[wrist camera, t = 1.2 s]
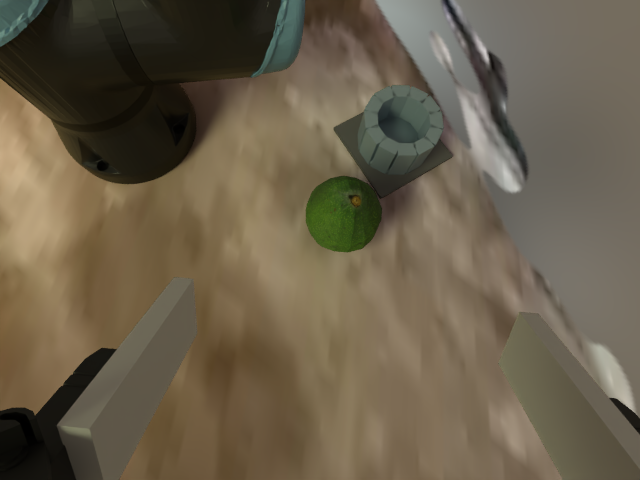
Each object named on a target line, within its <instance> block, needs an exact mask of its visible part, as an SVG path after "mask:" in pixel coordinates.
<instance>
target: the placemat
mask: <svg viewBox="0 0 640 480" xmlns="http://www.w3.org/2000/svg"><path fill="white" fill-rule="evenodd" d="M363 113H364V112H363ZM363 113H361V114H359V115H357V116H355V117H353V118H351V119H349V120H347V121H346V122H344V123H342V124H340V125H338V126H336V127H334V131H335V132H336V134H337V135H338V137H339V138H340V140H341V141H342V143H343V144H344V146H345V147H346V148H347V150H348V151H349V153H350V154H351V156H352V157H353V159H354V160H355V162H356V163H357V165H358V166H359V167H360V169H361V170H362V172H363V173H364V175H365V176H366V178H367V179H368V181H369V182H370V184H371V185H372V186H373V188H374V189H375V191H376V192H377V194H378V195H379V197H380V198H383V197H385V196H386V195H388V194H390V193H391V192H393V191H395V190H397V189H398V188H400V187H402V186H404V185H405V184H407V183H409V182H410V181H412V180H414V179H416V178H417V177H419V176H421V175H422V174H424V173H426V172H428V171H429V170H431V169H433V168H435V167H436V166H438V165H440V164H441V163H443V162H445V161H447V160H448V159H450V158H452V155H451V154H450V152H449V151H448V150H447V148H446V147H445V146H444V144H443V143H442V142H441V140H440V139H439V140H438V142H437V144H436V145H435V147H434V148H433V149H432V151H431V152H430V154H429V155H428V156H427V158H426V159H425V160H424V162H423V163H422V165H420V166H419V167H418V168H416V169H414V170H412V171H411V172H409V173H407V174H406V173H405V174H404V175H388V174H387V173H385V174H384V173H382V172H380V171H378V170H376V169H374V168H372V167H370V165H368V164H367V162H366V161H365V159H364V158H363V156H362V155H361V153H360V152H359V151H360V150H359V149H358V131H359V127H360V124H361V120H362V117H363Z"/></svg>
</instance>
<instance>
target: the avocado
mask: <svg viewBox="0 0 640 480" xmlns="http://www.w3.org/2000/svg"><path fill="white" fill-rule="evenodd" d="M381 214H382V208H381V205H380V203H379V200H378V198H377V196H376V193H375V191H374V190H373V189H372V188H371V187H370V186H369V185H368V184H367V183H365V182H363V181H361V180H359V179H357V178H353V177H347V176H339V177H335V178H330V179H328V180H327V181H325V182H323V183H322V184H320V185H318V186H317V187H316V188H315V189H314V191H313V192H312V194H311V196H310V198H309V201H308V203H307V207H306V224H307V226H308V229H309V231H310V234H311V235H312V236H313V238H314V239H315V240H316V242H317V243H318V244H319V245H320V246H322V247H325V248H327V249H330V250H332V251H338V252H351V251H355V250H359V249H362V248H363V247H364V246H365V245H367V244H368V243H369V242H370V241H371V240H372V238H373V237H374V235H375V233H376V230H377V228H378V226H379V223H380V221H381Z"/></svg>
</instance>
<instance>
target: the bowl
mask: <svg viewBox="0 0 640 480" xmlns="http://www.w3.org/2000/svg"><path fill="white" fill-rule="evenodd" d="M427 95H428V94H427V93H425V92H423V91H421V90H419V89H417V88H415V87H413V86H412V87H411V89H410V85H392V86H391V87H390V86H388V87H386V88H384V89H382V90H380V91H378V92H377V93H375V94H374V95H373V96H372V97H371V99H370V101H369V103H368V104H367V106H366V108H365V110H364V113H363V117H362V120H361V124H360V127H359V131H358V149H359V150H360V151H359V152H360V153H361V155H362V156H363V158H364V159H365V161H366V162H367V164H368V165H370V167H372V168H374V169H376V170H378V171H380V172H382V173H384V174H385V173H387V174H388V175H404V174H405V173H406V174H407V173H409V172H411V171H412V170H414V169H416V168H418V167H419V166H420V165H422V163H423V162H424V160H425V159H426V158H427V156H428V155H429V154H430V152H431V151H432V149H433V148H434V147H435V145H436V144H437V142H438V140H439V138H440V136H441V134H442V132H443V128H444V126H443V118H442V112H439V111H440V110H441V109H440V108H439V106H438V105H437V104H436V103H435V101H434V100H433V99H432V97H431V96H428V97H427ZM426 97H427V98H426Z"/></svg>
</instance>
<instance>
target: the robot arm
mask: <svg viewBox="0 0 640 480" xmlns="http://www.w3.org/2000/svg"><path fill="white" fill-rule="evenodd" d="M304 15H305V0H0V78H1V79H2V80H3V81H4V82H6V83H7V84H8V85H9V86H11V87H12V88H13V89H14V90H15V91H17V92H18V93H19V94H20V95H22V96H23V97H24V98H25V99H26V100H28V101H29V102H30V103H31V104H33V105H34V106H35V107H36V108H38V109H39V110H40V111H41V112H43V113H44V114H45V115H46V116H47V117H49V118H50V119H51V121H52V123H53V125H54V127H55V129H56V130H57V132H58V134H59V136H60V138H61V140H62V142H63V144H64V146H65V148H66V149H67V151H68V152H69V154H70V155H71V156H72V157H73V158H74V159H75V161H76V162H78V163H79V164H80V165H81V166H83V167H84V168H85V169H87V170H88V171H89V172H91V173H92V174H94V175H95V176H97V177H99V178H101V179H103V180H106V181H109V182H114V183H120V184H135V183H142V182H146V181H150V180H153V179H155V178H158V177H160V176H162V175H164V174H166V173H167V172H169V171H170V170H172V169H173V168H174V167H175V166H177V165H178V164H179V163H180V162H181V161H182V159H183V158H184V157H185V156H186V154H187V153H188V151H189V149H190V148H191V146H192V143H193V141H194V137H195V133H196V117H195V112H194V109H193V107H192V104H191V102H190V100H189V98H188V96H187V94H186V93H185V91H184V89H183V88H182V87H181V86H180V84H179V83H185V82H197V81H208V80H220V79H232V78H244V77H251V78H253V77H257V76H259V75H260V74H265V73H271V72H277V71H282V70H285V69H287V68H288V67H289V66H290V65H291V64H292V63H293V62H294V61H295V59H296V57H297V55H298V52H299V49H300V45H301V40H302V34H303V25H304ZM196 335H197V323H196V309H195V295H194V281H193V279H189V278H179V277H174V278H173V279H172V281H171V282H170V283H169V284H168V286H167V287H166V288H165V289H164V291H163V292H162V293H161V294H160V296H159V297H158V298H157V300H156V301H155V302H154V303H153V305H152V306H151V307H150V308H149V310H148V311H147V312H146V313H145V315H144V316H143V317H142V318H141V320H140V321H139V322H138V323H137V325H136V326H135V327H134V329H133V330H132V331H131V332H130V334H129V335H128V336H127V337H126V339H125V340H124V341H123V342H122V344H121V345H120V346H119V347H118V349H108V348H101V349H99V350H98V351H96V352H95V353H93V354H92V355H90V356H89V357H87V358H86V359H85V360H84V361H83V362H82V363H81V364H80V365H79V366H78V368H77V369H76V370H75V371H74V372H73V375H71V376H70V377H69V378H68V379H67V380H66V381H65V382H64V385H63V386H61V387H60V388H59V389H58V390H57V391H56V393H55V394H54V395H53V396H52V397H51V398H50V399H49V401H48V402H47V403H46V404H45V405H44V406H43V407H42V409H41V410H40V411H39V412H38V413H37V414H36V415H34V413H33V411H31V410H29V409H27V408H10V409H6V410H2V411H0V480H119V479H120V477H121V475H122V473H123V471H124V469H125V467H126V466H127V464H128V462H129V460H130V458H131V456H132V454H133V452H134V451H135V449H136V447H137V445H138V443H139V441H140V439H141V438H142V436H143V434H144V432H145V430H146V428H147V426H148V424H149V423H150V421H151V419H152V417H153V415H154V413H155V411H156V409H157V408H158V406H159V404H160V402H161V400H162V398H163V396H164V394H165V393H166V391H167V389H168V387H169V385H170V383H171V381H172V379H173V378H174V376H175V374H176V372H177V370H178V368H179V366H180V364H181V363H182V361H183V359H184V357H185V355H186V353H187V351H188V350H189V348H190V346H191V344H192V342H193V340H194V338H195V336H196ZM498 364H499V366H500V367H501V369H502V371H503V373H504V375H505V376H506V378H507V380H508V382H509V384H510V385H511V387H512V389H513V391H514V393H515V394H516V396H517V398H518V400H519V402H520V403H521V405H522V407H523V409H524V411H525V412H526V414H527V416H528V418H529V419H530V421H531V423H532V425H533V427H534V428H535V430H536V432H537V434H538V436H539V437H540V439H541V441H542V443H543V445H544V446H545V448H546V450H547V452H548V454H549V455H550V457H551V459H552V461H553V463H554V464H555V466H556V468H557V470H558V472H559V473H560V475H561V477H562V479H563V480H640V418H639V417H638V416H637V415H636V414H635V413H634V412H633V411H632V410H630V409H629V408H628V407H627V406H625V405H624V404H623V403H621V402H620V401H619V400H618V399H616V398H608V396H607V395H606V394H605V393H604V392H603V390H602V389H601V388H600V387H599V386H598V384H597V383H596V382H595V381H594V380H593V378H592V377H591V376H590V375H589V374H588V372H587V371H586V370H585V369H584V368H583V366H582V365H581V364H580V363H579V362H578V361H577V359H576V358H575V357H574V356H573V355H572V353H571V352H570V351H569V350H568V349H567V347H566V346H565V345H564V344H563V343H562V341H561V340H560V339H559V338H558V337H557V335H556V334H555V333H554V332H553V331H552V329H551V328H550V327H549V326H548V325H547V324H546V322H545V321H544V320H543V319H542V318H541V316H540V315H539V314H536V313H526V312H519V314H518V316H517V319H516V321H515V324H514V326H513V329H512V331H511V333H510V336H509V338H508V341H507V343H506V346H505V348H504V351H503V353H502V356H501V358H500V361H499V363H498Z"/></svg>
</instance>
